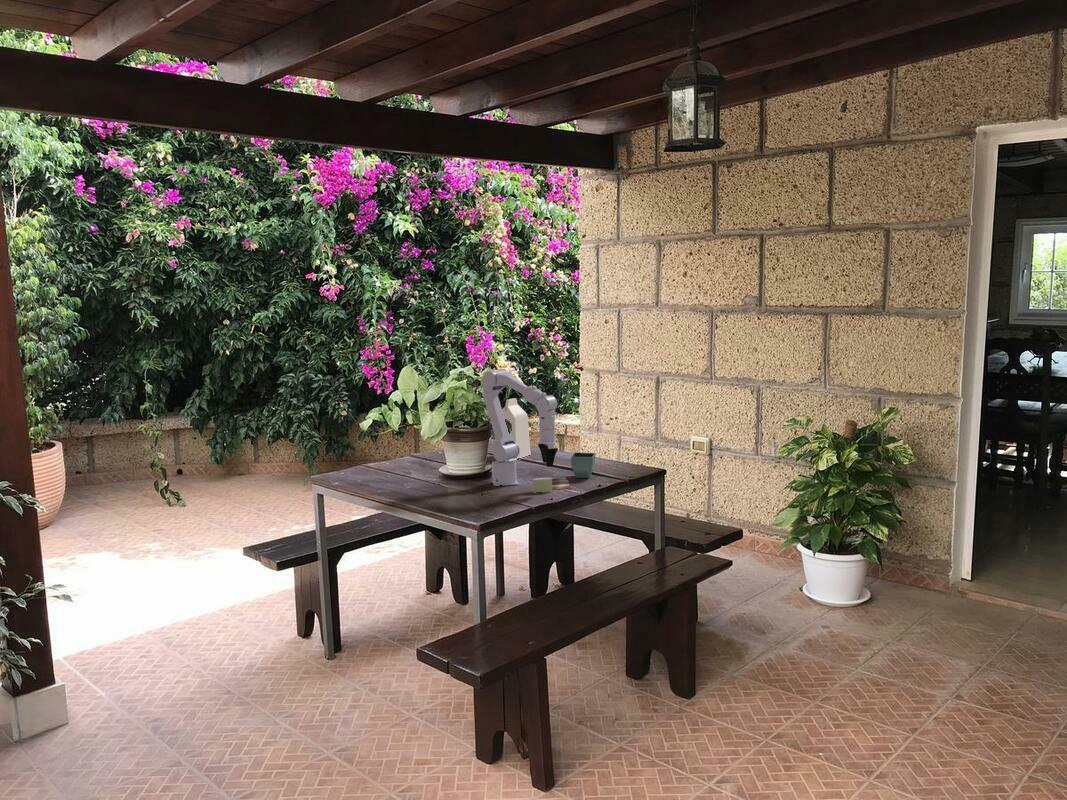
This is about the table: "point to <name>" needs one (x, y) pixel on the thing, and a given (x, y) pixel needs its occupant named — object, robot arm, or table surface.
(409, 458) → the table surface
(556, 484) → the track board
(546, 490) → the pale green block
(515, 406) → the milk
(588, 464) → the flower pot
